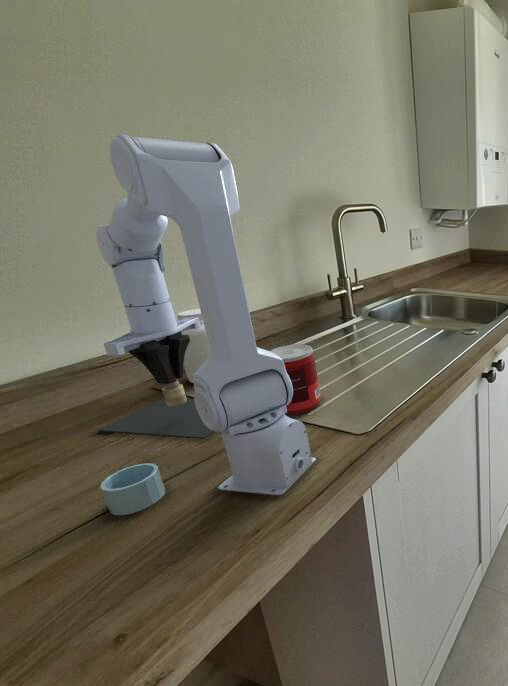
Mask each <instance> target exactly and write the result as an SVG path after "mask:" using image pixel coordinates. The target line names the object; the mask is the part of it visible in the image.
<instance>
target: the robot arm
mask: <svg viewBox="0 0 508 686" xmlns="http://www.w3.org/2000/svg"><path fill="white" fill-rule="evenodd" d="M109 156H110V161H111V166H112V169H113V172H114V174H115V177H116V180H117V181H118V183H119V185H120V186H121V187H122V189H123V190H124V191H126V192H127V197H123V198H122V199H119V201H117V202H116V203H115V204H114V206H113V209H112V213H111V216H110V220H109V224H108V225H105V224H104V225H96V228H95V238H96V245H97V247H98V250H99V252H100V254H101V257H102V258H103V260H104V262H105V263H106V264H107V265H108V266H110V267H111V270H112V273H113V276H114V279H115V283H116V285H117V289H118V293H119V295H120V298H121V302H122V304H123V307H124V311H125V313H126V317H127V320H128V323H129V327H130V329H129V332H128V333H125V334H123V335H121V336H119V337H117V338H114V339H112V340H109V341H107V342H104V343H103V347H104V350H105V353H106V356H112V357H115V356H116V357H120V356H123V355H125V354H126V353H129V354H130V355H132V357H134V358H135V359H136V360H138V361H139V362H140V363H141V364H142V365H143V366H144V367H145V368H146V369H147V370H148V372H149V373H150V374H151V376H152V377H153V378H154V380H155V381H156V383H157V384H160V385H164V384H169V383H171V382H172V376H171V372H170V368H169V363H168V353H169V356H170V359H171V363H172V366H173V370H174V373H175V376H176V380H179V379H182V378H184V356H185V352H186V349H187V346H188V344H189V342H190V338H189V335H182V334H181V333H182V332H185V331H188V330H191V329H197V328H200V327H201V326H200V322H199V318H198V317H187V318H183V319H179V320H178V319H177V318H176V315H175V312H174V311H175V310H174V308H173V304H172V301H171V297H170V294H169V291H168V287H167V282H166V279H165V275H164V273H165V272H166V266H165V262H164V249H163V244H162V239H163V236H164V234H165V232H166V229H167V227H168V224H169V220H168V218H170V219H171V220H172V221H174V222H175V223H176V225H178V227H179V228H180V233H181V236H182V241H183V245H184V249H185V254H186V257H187V261H188V265H189V266H188V267H189V269H190V273H191V277H192V281H193V285H194V289H195V293H196V298H197V302H198V306H199V309H200V310H201V314H202V318H203V322H204V327H205V331H206V335H207V339H208V343H209V347H210V351H211V355H210V356H209V357H208V359H207V360H206V361H205V362H204V363H203V364H202V365H201V366H200V367H199V368H198V370H197V371H196V372H195V373H194V375H193V377H194V379H193V383H192V384H193V387H194V388H193V389H194V395H193V399H194V401H195V405H196V409H197V411H198V414H199V416H200V418H201V420H202V421H203V423H204V424H205V425H206V426H207V427H208V428H209V429H210V430H213V431H215V432H214V433H220V434H221V438H222V441H223V445H224V449H225V452H226V456H227V460H228V463H229V464H228V465H229V468H230V471H231V475H230V476H229V477H228V478H226V479H225V480H224V481H223V482H221V484H219V486H217V489H218V490H219V491H226V492H237V493H238V492H239V493H247V494H248V493H250V494H258V495H259V494H260V495H270V496H283V495H284V494H285V493H286V492H287V491H288V490H289V489H290V488H291V487H292V486H293V485H294V484H295V483H296V482H297V481H298V480H299V478H300V477H301V476H302V475H304V473H305V472H306V471H307V470H308V469H309V468H310V467H311V466H312V465H314V463H315V462H316V460H317V459H316V457H314V456H313V457H312V452H311V448H310V447H311V446H310V442H309V436H308V430H307V428H306V425H305V424H304V423H303V421H301V420H298V419H294V418H291V417H289V416H287V414H285V413H287V408H286V405H288V404H289V403H290V402H291V400H292V396H293V386H292V382H291V380H290V378H289V376H288V374H287V372H286V369H285V365H284V362H283V360H282V359H281V358H280V357H279V356H278V355H276V354H274V353H272V352H270V351H271V350H267V349H264V348H261V347H259V346H257V342H256V336H255V332H254V328H253V323H252V318H251V313H250V308H249V304H248V299H247V292H246V289H245V284H244V279H243V273H242V270H241V264H240V259H239V254H238V250H237V245H236V239H235V233H234V230H233V225H232V219H231V216H233V215H234V214H236V213H238V212H239V211H240V209H241V206H240V201H239V200H240V199H239V198H240V197H239V193H238V188H237V183H236V178H235V177H236V176H235V172H234V167H233V164H232V161H231V160H230V159H229V157H228V156H227V155H226V154H225V152H224V151H223V150H222V149H221V148H220V146H219V145H218V144H216V143H214V142H208V141H207V142H196V141H195V142H193V141H183V140H172V139H161V138H152V137H140V136H129V135H127V134H124V133H117V134H116V135H115V136H114V138H113V139H111V141H110V144H109Z"/></svg>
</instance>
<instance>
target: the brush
mask: <svg viewBox="0 0 508 686" xmlns="http://www.w3.org/2000/svg"><path fill="white" fill-rule="evenodd" d="M168 363H169V368H170V372H171V376H172V382H171V383H169V384H163V388H162V389H161V391H162V394H163V398H165V401H166V404H167V406H177V405H181V404H183V403H185V402H186V401H187V399H188V397H187V395H186V392H185V388H184V385H183V384H182V383H180V381H179V379H177V378H176V376H175V373H174V370H173V366H172V363H171V359H170V356H169V353H168Z"/></svg>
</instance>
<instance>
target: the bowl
mask: <svg viewBox="0 0 508 686" xmlns="http://www.w3.org/2000/svg"><path fill="white" fill-rule="evenodd" d="M99 488H100V492H101V493H102V497H103V498H104V502H105V505H106V506H107V509H108V511H109V513H110V514H112V515H115V516H125V515H132V514H134V513H137V512H140V511H142V510H145V509H147V508H150V507H151V506H153V505H155V504H156V503H157V502H159V501H160V500H161V499H162V498H163V497H164V496H165V494H166V487H165V484H164V481H163V478H162V475H161V472H160V469H159V466H158V465H157V464H155V463H149V462H145V463H139V464H133V465H131V466H127V467H125V468H121V469H120V470H117V471H116V472H113V473H111V475H109V476H107V477H106V478H105V479H103V481H102V482H100V486H99Z"/></svg>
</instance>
